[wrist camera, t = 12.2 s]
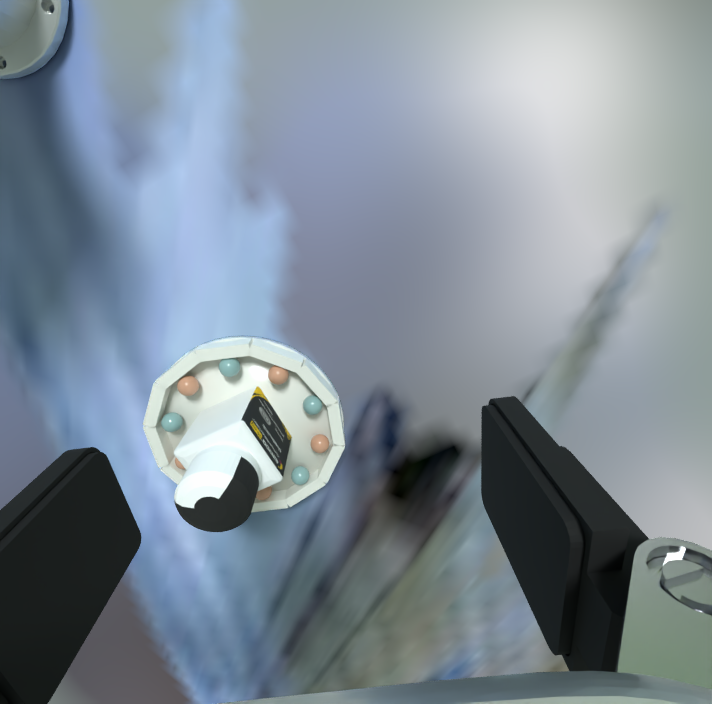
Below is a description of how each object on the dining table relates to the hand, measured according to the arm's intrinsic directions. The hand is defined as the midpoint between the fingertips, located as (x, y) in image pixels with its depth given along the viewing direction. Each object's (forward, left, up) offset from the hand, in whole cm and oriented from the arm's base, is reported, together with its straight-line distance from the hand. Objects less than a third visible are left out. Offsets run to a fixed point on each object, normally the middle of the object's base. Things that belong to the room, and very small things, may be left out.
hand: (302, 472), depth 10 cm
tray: (+15, -11, -28) cm, 34 cm away
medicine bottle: (+15, -11, -28) cm, 33 cm away
